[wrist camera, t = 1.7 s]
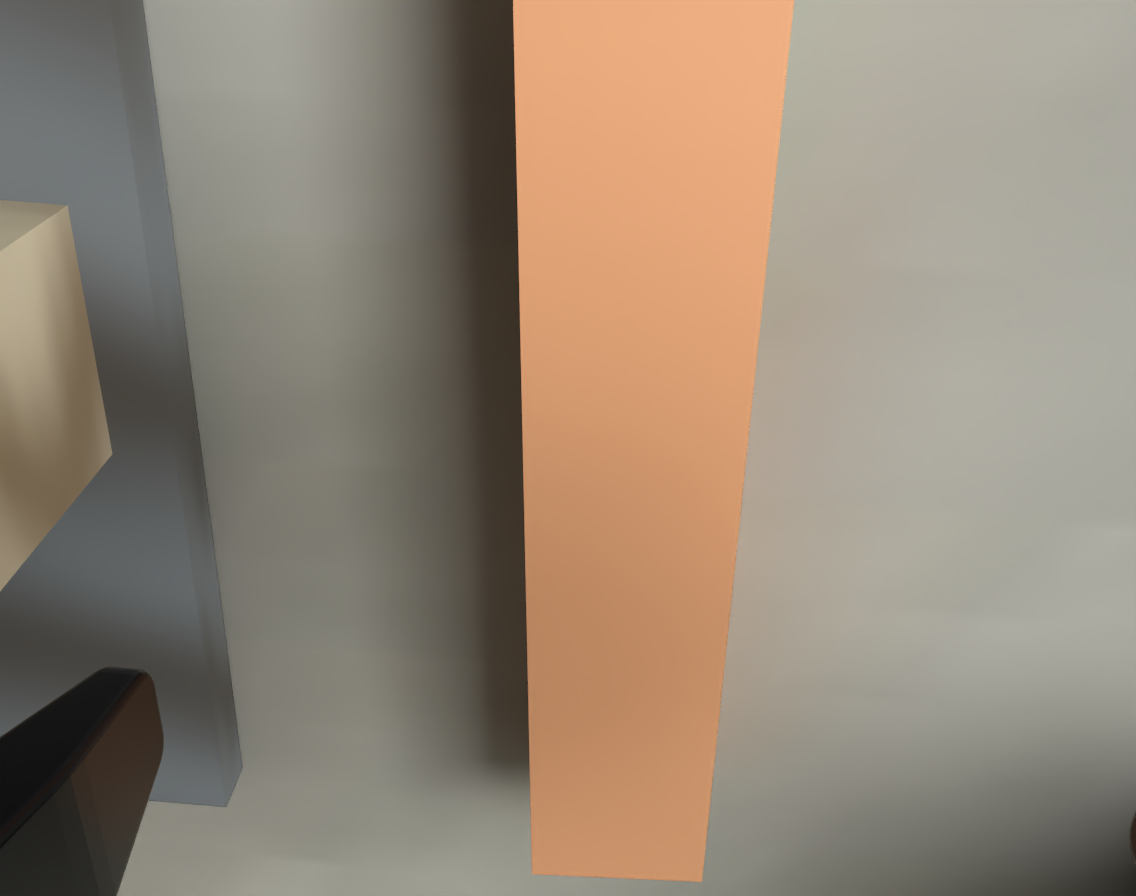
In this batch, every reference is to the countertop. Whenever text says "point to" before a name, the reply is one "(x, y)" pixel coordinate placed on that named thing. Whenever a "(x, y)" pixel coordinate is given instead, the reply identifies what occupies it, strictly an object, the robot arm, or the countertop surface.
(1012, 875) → the countertop surface
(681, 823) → the bar
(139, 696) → the robot arm
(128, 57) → the ridge
